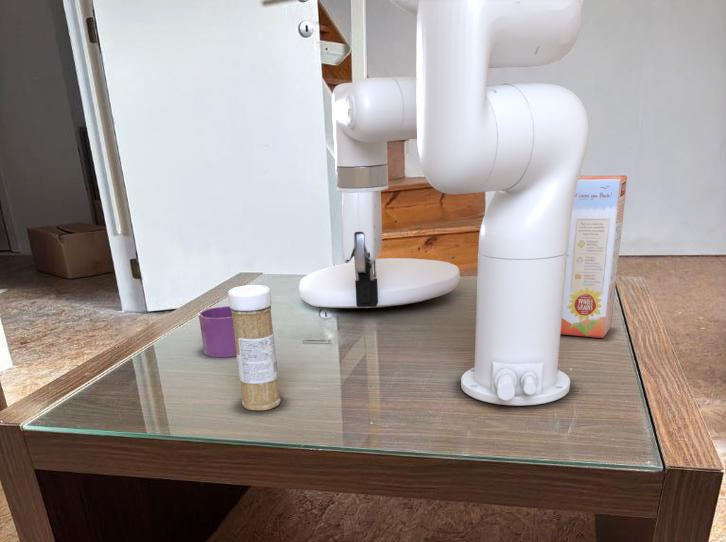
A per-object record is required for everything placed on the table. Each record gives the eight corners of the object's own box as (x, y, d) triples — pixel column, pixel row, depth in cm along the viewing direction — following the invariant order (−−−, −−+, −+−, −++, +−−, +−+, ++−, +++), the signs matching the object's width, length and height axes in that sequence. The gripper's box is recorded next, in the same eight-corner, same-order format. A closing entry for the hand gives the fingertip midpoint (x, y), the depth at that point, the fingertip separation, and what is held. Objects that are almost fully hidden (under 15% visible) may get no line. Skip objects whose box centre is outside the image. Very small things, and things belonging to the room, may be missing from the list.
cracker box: (611, 328, 106) (630, 173, 97) (603, 340, 102) (621, 178, 92) (517, 320, 112) (526, 174, 103) (505, 331, 107) (513, 178, 98)
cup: (243, 357, 101) (239, 318, 99) (197, 357, 102) (191, 318, 100) (257, 343, 107) (253, 306, 105) (213, 343, 108) (208, 306, 106)
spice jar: (250, 397, 87) (236, 283, 81) (286, 398, 86) (275, 283, 80) (236, 411, 83) (220, 292, 77) (274, 413, 82) (261, 293, 76)
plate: (284, 290, 116) (309, 260, 139) (291, 330, 119) (315, 293, 142) (460, 267, 112) (455, 239, 135) (464, 309, 115) (458, 274, 138)
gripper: (345, 175, 113) (351, 294, 121) (327, 185, 100) (335, 317, 108) (393, 173, 112) (396, 294, 120) (381, 183, 99) (385, 317, 107)
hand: (367, 305), depth 114 cm, fingers closed
